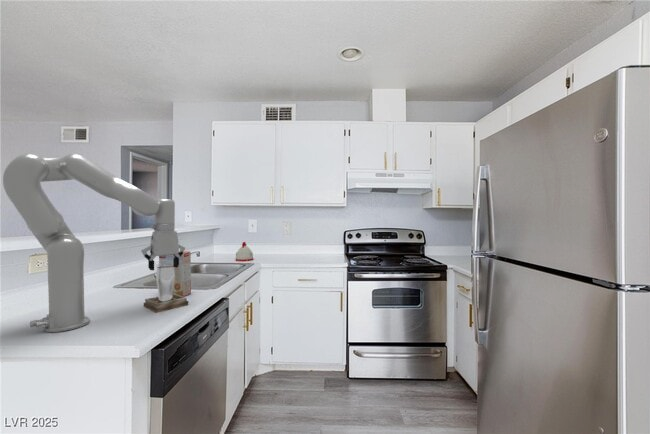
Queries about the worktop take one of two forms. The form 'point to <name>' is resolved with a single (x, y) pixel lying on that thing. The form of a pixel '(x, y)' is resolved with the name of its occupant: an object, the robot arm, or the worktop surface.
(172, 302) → the brown square tray
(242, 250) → the cream dome with knob
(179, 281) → the cracker box
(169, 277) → the beer glass
